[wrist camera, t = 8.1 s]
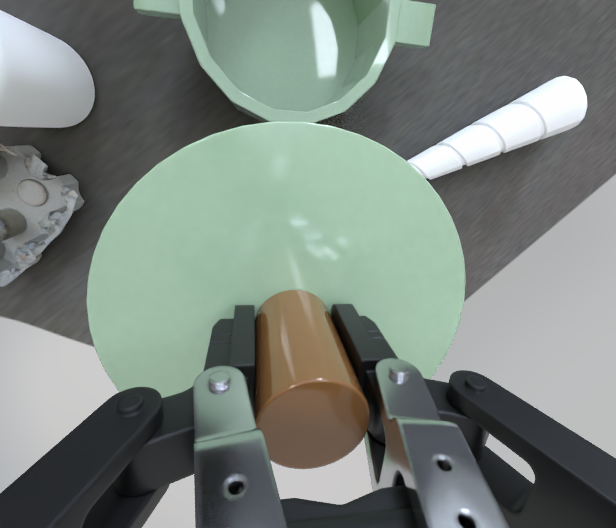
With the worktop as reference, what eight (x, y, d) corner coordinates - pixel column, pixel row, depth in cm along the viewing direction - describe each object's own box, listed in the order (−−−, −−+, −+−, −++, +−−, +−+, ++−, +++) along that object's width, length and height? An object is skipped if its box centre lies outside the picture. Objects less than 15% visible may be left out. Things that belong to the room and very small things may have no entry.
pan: (152, -96, 23) (108, -196, 16) (407, -51, 26) (462, -118, 19) (168, 117, 28) (140, 111, 21) (381, 133, 31) (418, 133, 24)
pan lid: (64, 104, 10) (-175, 64, 4) (488, 137, 12) (680, 139, 7) (126, 450, 15) (52, 634, 10) (417, 426, 18) (494, 562, 12)
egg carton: (19, 129, 26) (-20, 127, 23) (102, 196, 29) (80, 205, 25) (-58, 219, 28) (-107, 232, 24) (28, 276, 31) (-3, 295, 27)
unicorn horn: (317, 173, 31) (327, 179, 27) (546, 77, 31) (594, 68, 27) (333, 217, 33) (345, 230, 29) (548, 127, 33) (594, 126, 29)
